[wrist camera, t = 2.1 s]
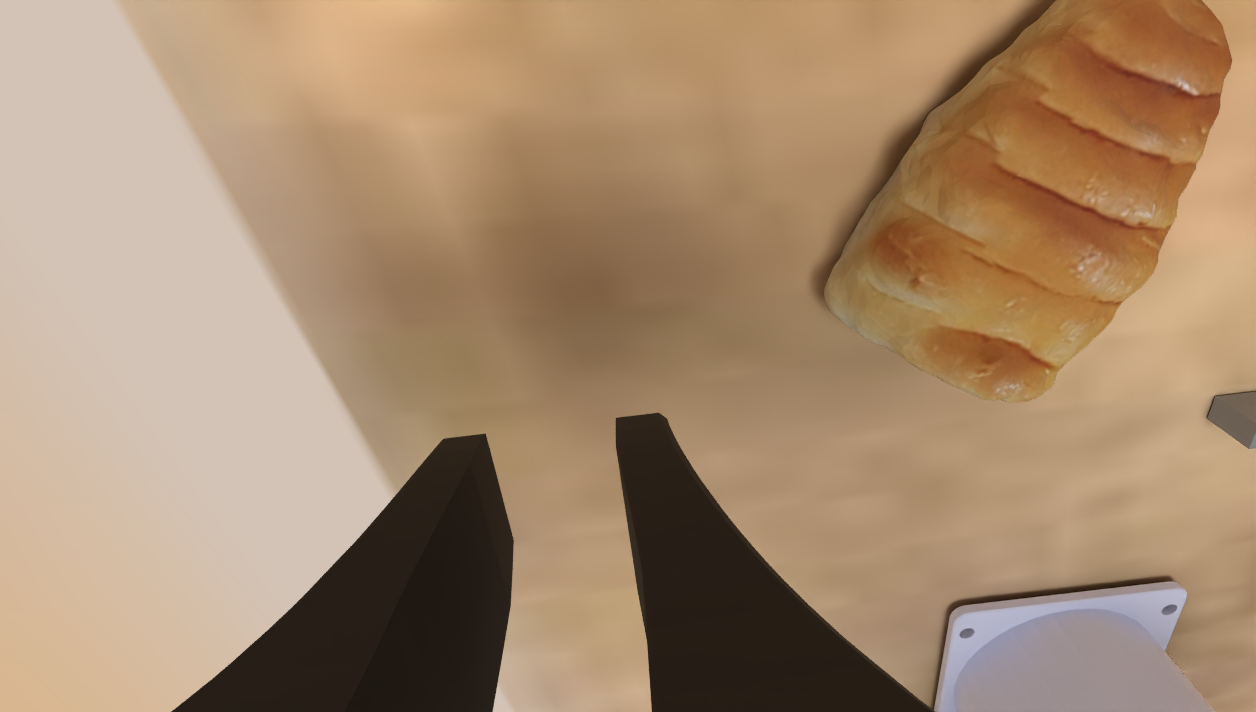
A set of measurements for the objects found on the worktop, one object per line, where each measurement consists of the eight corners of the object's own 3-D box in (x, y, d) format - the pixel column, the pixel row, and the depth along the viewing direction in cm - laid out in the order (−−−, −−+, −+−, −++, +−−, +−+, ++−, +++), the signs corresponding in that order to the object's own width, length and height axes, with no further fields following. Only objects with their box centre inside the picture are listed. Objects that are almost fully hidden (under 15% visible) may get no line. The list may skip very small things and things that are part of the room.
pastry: (1011, -89, 14) (1140, -106, 11) (1247, 42, 16) (1423, 62, 13) (795, 300, 18) (842, 373, 15) (999, 374, 20) (1082, 455, 17)
